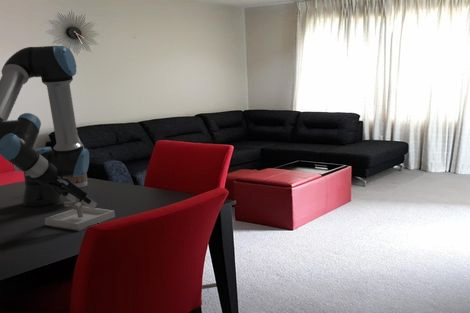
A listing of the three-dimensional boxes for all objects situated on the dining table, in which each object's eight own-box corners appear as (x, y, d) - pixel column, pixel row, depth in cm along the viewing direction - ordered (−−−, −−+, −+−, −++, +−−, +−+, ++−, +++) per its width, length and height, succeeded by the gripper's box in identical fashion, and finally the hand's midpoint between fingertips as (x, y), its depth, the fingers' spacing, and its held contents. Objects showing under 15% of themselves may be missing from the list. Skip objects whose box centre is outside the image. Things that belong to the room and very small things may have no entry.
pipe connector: (70, 214, 167) (67, 187, 165) (97, 212, 168) (95, 186, 166) (62, 222, 157) (59, 194, 155) (91, 220, 158) (88, 192, 156)
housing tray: (45, 225, 160) (44, 218, 159) (82, 212, 174) (82, 206, 174) (78, 231, 151) (78, 223, 151) (115, 217, 166) (114, 210, 165)
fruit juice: (66, 189, 216) (60, 131, 211) (68, 185, 225) (63, 129, 220) (87, 187, 218) (81, 130, 213) (88, 183, 227) (83, 128, 222)
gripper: (18, 175, 155) (66, 209, 169) (50, 182, 141) (98, 218, 156) (32, 158, 158) (77, 193, 173) (64, 163, 145) (110, 200, 159)
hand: (87, 205), depth 164 cm, fingers closed on pipe connector, 8 cm apart
